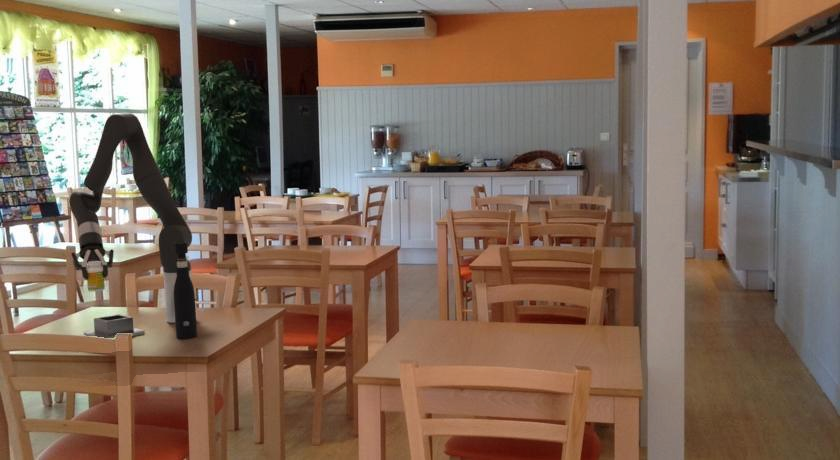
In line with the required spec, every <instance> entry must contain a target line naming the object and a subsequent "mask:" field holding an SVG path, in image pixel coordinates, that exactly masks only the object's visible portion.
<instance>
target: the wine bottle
mask: <svg viewBox="0 0 840 460" xmlns="http://www.w3.org/2000/svg"><path fill="white" fill-rule="evenodd" d="M188 248H189V247H188ZM188 248H187V242H178V243H175V254H177V255H178V260H186V259H187V254H188V252H189V249H188ZM187 263H188V262H187V261H177V268H176V272H177V277H176V281H175V285H174V308H175V323H174V325H175V338H176V339H178V340H190V339H195V338H197V337H198V329H197V328H198V327H197V313H196V311H197V310H196V308H197V307H196V295H195V288H194V283H193V281H191V279H190V276H189V267H187Z"/></svg>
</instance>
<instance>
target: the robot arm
mask: <svg viewBox="0 0 840 460" xmlns="http://www.w3.org/2000/svg"><path fill="white" fill-rule="evenodd" d="M122 141H124V142H125V144H126V145H127V147H128V150H129V152H130V155H131V159H132V177H133V179H134V182H135V185H136V187H137V189H138V191H139V193H140V195H141V197H142V198H143V199H144V201H145V202H146V203H147V204H148V206H149V207H151V208H152V210H153V211H154V212H155V213H156V214H157V216H158V218H159V220H160V221H161V223H162V226H163V228H162V229H161V230H160V232H159V235H158V250H159V251H158V252H159V260H160V264H161V266H162V269H163V285H164V298H165V299H164V300H165V314H166V315H165V316H166V322H167V323H169V324H171V323H173V324H175V308H174V285H175V281H176V277H177V272H176V268H177V261H187V262H188V263H187V267H189V276H190V279H191V281H192V267H191V266H192V265H191V262H190V261H189V260H188V258H186V260H178V255H177V254H175V243H178V242H187V248H189V247H190V246H191V245H192V241H193V233H192V230H191V229H190V227H189V226H188V223H187V222H186V221H185V219H184V217H183V216H182V214H181V212H180V210H179V209H178V206H177V205H176V201H175V200H174V198H173V196H172V193H171V192H170V189H169V187H168V184H167V182H166V180H165V178H164V176H163V174H162V172H161V170H160V168H159V166H158V164H157V162H156V160H155V157H154V155H153V152H152V151H151V149H150V145H149V143H148V141H147V138H146V135H145V132H144V130H143V127H142V123H141V122H140V119H139V118H138V116H136V115H135V114H134V113H131V112H120V113H119V112H118V113H113V114H110V115H109V116H108V117H107V119H106V121H105V123H104V126H103V130H102V133H101V137H100V140H99V144H98V148H97V151H96V153H95V155H94V159H93V161H92V164H91V165H90V168H89V170H88V172H87V173H86V175H85V178H84V180H83V185H84V186H85V188H86V189H88V191H91V192H92V193H90V192H88V191H87V192H86V191H83V190H82V191H81V190H75V191H73V192H72V193H71V194H70V196H69V198H68V203H69V204H68V205H69V208H70V211H71V212H72V215H73V216H74V219H75V220H76V224H77V235H78V236H77V237H78V245H79V252H77V253H75V252H71V256H70V257H71V258H70V259H71V261H72V263H73V266H74V269H75V270H76V271H80V272H81V274H82V278H83V279H84V280H85V281H87V268H88V267H89V266H88V262H90V261H100V263H101V265H100V267H102V268H103V272H104V279H106V278H107V277H108V276H109V268H112V267H113V263H114V262H113V261H114V255H115V254H114V253H115V252H114V249H110V250H106V249H105V248H104V244H103V235H102V230H101V227H100V222H99V216H98V215H97V213H98V212H99V211H100V209H101V206H102V199H103V193H104V189H105V187H106V185H107V182H108V181H109V178H110V176H111V174H112V172H113V171H112V170H113V165H114V164H113V163H114V162H113V160H114V154H115V152H116V149H117V148H118V147H119V145H120V144H121V142H122ZM105 256H106V257H107V258H108V261H106V259H105V258H104V257H105ZM79 259H82V260H83V261H82V263H81V264H80V262H79ZM192 282H193V281H192Z"/></svg>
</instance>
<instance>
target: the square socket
mask: <svg viewBox="0 0 840 460" xmlns="http://www.w3.org/2000/svg"><path fill="white" fill-rule="evenodd" d="M93 326H94V329H93V330H91V331H86V332H83V336H84V335H86V336H97V337H104V338H114V337H115V335H116V334H117V333H132V334H133V336H132V337H137V336H141V335H145V334H146V333H145V332H146V331H145V330H143V329H139V328H137V327H136V328H135V327H134V317H132V316H128V315H126V314H125V315H124V314H121V313H119V314H113V315H107V316H101V317H94V318H93Z"/></svg>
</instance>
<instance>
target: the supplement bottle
mask: <svg viewBox="0 0 840 460" xmlns="http://www.w3.org/2000/svg"><path fill="white" fill-rule="evenodd" d="M100 265H101V263H100V261H90V262H88V266H87V268H86V270H87V279H86V284H87V291H88V292H103V291H104V290H106V288H105V287H106V286H105V278H104V272H103V267H102V266H100Z"/></svg>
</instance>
